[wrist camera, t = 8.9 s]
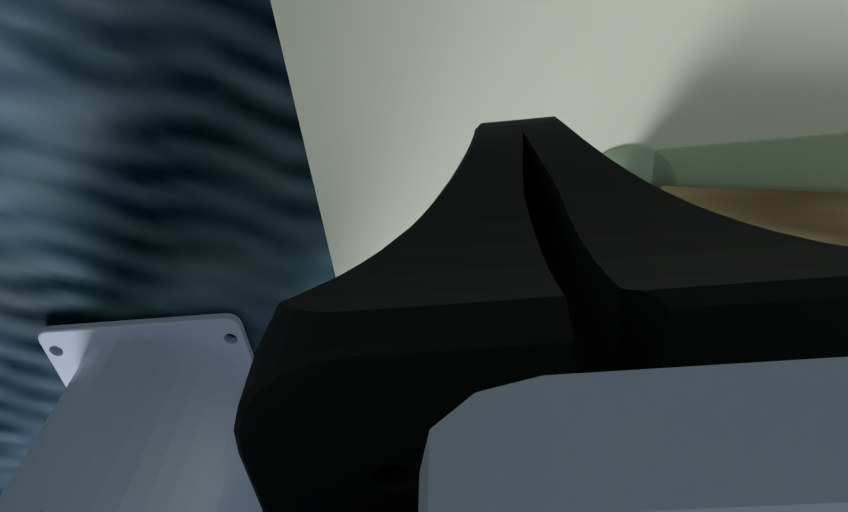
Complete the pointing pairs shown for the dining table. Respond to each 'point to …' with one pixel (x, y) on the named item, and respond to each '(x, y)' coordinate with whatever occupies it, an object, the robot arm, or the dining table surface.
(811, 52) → the card
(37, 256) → the dining table surface
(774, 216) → the folding fence panel
